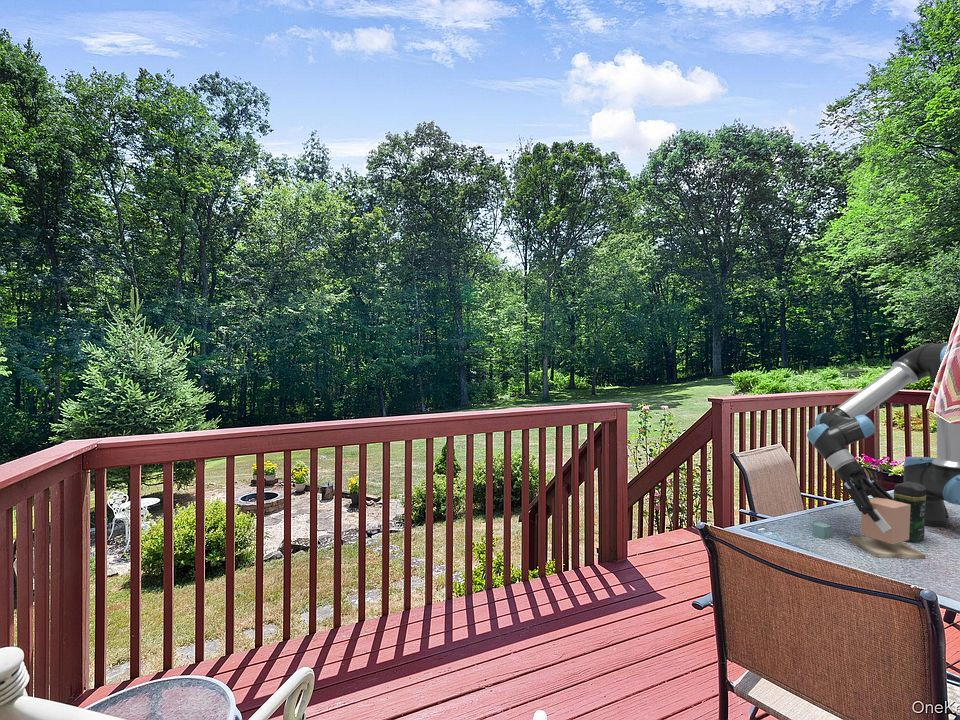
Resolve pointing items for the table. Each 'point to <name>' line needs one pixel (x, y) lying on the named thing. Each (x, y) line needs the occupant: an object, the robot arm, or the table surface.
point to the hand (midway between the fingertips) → (896, 528)
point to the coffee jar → (913, 507)
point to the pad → (886, 548)
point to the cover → (888, 521)
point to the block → (822, 530)
